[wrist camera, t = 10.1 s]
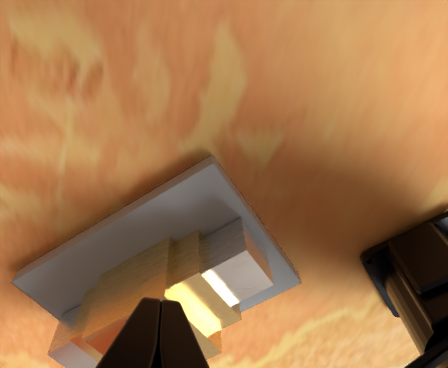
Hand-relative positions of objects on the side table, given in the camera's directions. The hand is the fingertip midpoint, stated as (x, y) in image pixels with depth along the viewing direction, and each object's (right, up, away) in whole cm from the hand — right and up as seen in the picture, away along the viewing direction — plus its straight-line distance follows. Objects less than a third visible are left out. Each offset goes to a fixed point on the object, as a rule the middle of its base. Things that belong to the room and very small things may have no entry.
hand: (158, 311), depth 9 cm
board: (-2, -3, +16) cm, 17 cm away
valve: (-2, -3, +16) cm, 17 cm away
